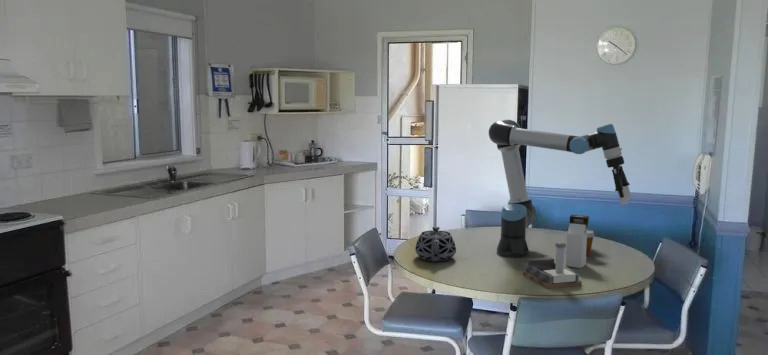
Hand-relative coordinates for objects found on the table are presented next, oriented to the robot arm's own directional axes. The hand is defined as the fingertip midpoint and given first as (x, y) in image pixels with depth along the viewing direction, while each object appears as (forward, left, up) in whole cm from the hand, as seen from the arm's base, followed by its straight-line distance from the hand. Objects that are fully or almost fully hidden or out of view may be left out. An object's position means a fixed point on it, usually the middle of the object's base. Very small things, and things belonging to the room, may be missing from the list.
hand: (626, 202), depth 287 cm
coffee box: (-28, -6, -28) cm, 40 cm away
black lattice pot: (-28, -82, -28) cm, 91 cm away
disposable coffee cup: (-13, -13, -28) cm, 33 cm away
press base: (+17, -48, -28) cm, 58 cm away
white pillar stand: (+23, -48, -26) cm, 59 cm away
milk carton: (+1, -26, -28) cm, 38 cm away
